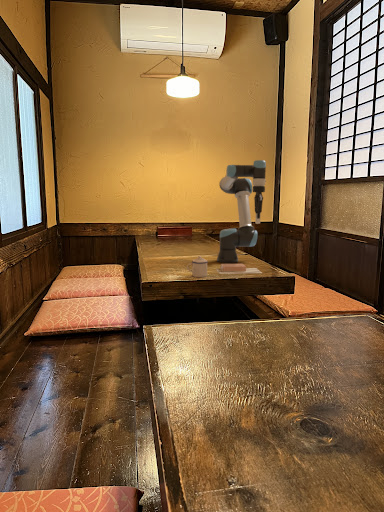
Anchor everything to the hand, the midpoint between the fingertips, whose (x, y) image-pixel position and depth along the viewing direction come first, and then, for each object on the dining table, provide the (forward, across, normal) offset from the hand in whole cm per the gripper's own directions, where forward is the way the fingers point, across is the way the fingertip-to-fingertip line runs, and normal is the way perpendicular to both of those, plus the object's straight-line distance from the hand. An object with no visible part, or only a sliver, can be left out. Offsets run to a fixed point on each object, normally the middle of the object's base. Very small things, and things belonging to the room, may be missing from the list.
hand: (257, 223), depth 231 cm
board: (+29, -8, +14) cm, 34 cm away
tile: (+27, -8, +10) cm, 30 cm away
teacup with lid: (+30, -18, +40) cm, 53 cm away
